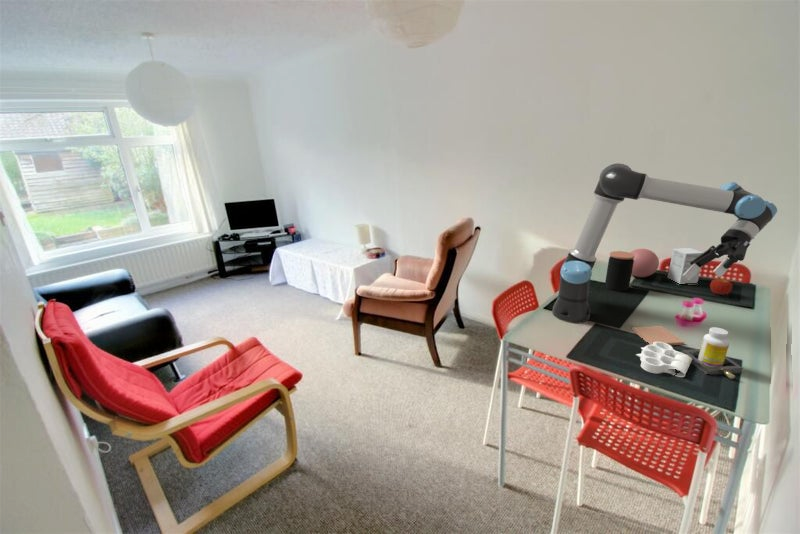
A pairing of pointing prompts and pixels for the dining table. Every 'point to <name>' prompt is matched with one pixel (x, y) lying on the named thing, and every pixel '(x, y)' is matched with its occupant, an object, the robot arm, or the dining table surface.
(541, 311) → the dining table surface
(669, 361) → the knuckle duster
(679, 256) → the supplement box
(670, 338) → the terracotta tile
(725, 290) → the apple
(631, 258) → the coffee jar
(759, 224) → the robot arm
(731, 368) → the dark gray square frame
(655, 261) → the balloon
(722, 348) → the supplement bottle
